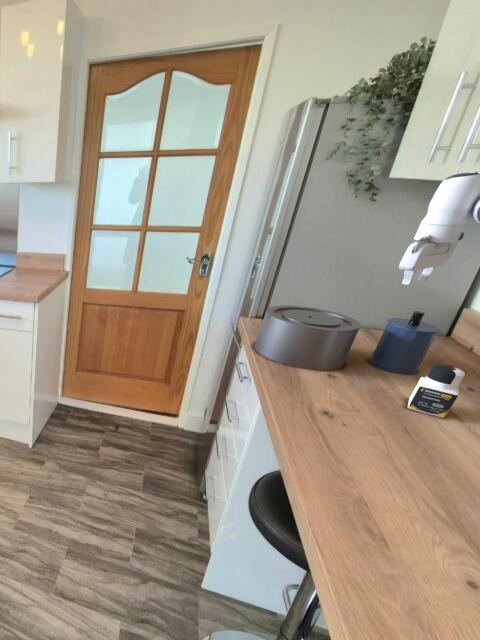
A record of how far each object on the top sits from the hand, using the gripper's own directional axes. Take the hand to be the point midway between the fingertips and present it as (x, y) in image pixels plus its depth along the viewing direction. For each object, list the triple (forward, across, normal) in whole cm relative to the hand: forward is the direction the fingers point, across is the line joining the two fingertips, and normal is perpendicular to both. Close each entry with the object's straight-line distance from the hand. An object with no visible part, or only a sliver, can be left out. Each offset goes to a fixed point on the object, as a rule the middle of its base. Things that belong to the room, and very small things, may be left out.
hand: (414, 282), depth 129 cm
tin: (+26, 0, -4) cm, 27 cm away
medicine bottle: (+26, -24, -22) cm, 42 cm away
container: (+26, -18, +15) cm, 35 cm away
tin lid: (+13, 0, -4) cm, 13 cm away
